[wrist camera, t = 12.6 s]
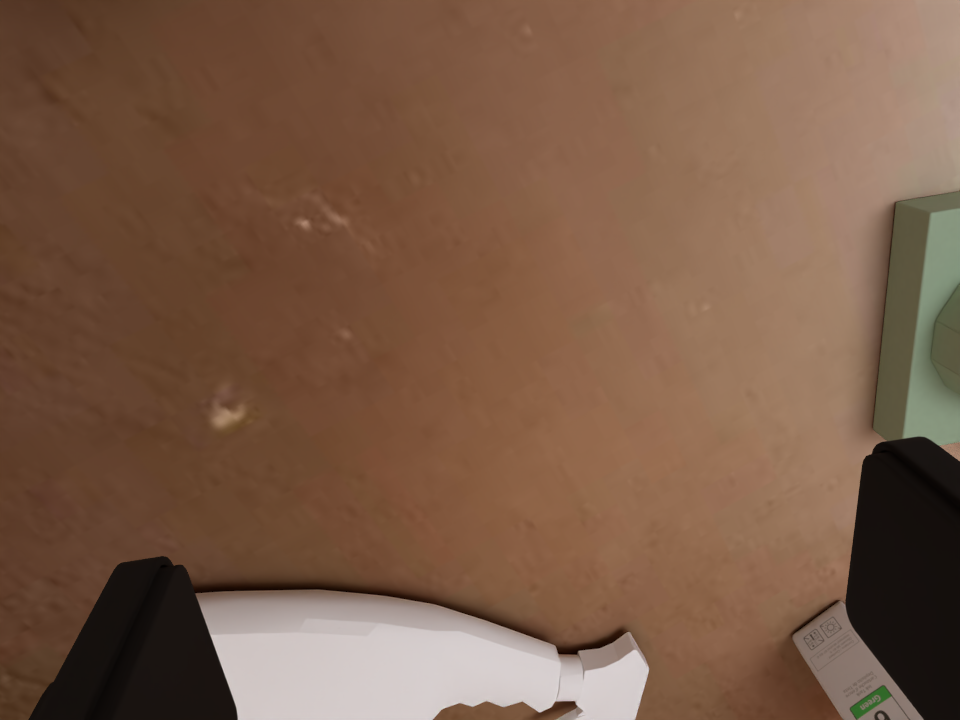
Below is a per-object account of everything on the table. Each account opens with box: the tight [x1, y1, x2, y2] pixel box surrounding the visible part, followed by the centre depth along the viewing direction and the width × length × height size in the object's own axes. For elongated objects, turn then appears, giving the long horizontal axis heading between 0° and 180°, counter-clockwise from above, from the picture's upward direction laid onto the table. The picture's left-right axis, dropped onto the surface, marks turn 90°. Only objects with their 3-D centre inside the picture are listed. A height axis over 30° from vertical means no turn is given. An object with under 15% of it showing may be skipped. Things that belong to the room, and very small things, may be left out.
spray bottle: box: [195, 589, 649, 720], centre depth 36 cm, size 3×11×24 cm
